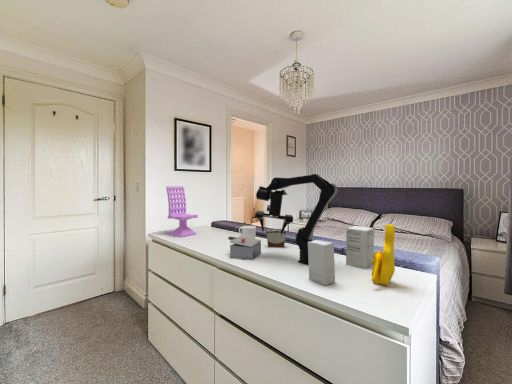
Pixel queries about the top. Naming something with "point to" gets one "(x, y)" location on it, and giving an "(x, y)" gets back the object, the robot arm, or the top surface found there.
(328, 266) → the skincare box
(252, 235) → the mug
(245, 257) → the grey open box
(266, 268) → the top surface
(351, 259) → the supplement box
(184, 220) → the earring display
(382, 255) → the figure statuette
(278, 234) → the food container
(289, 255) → the top surface
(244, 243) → the tabbed silver plate
